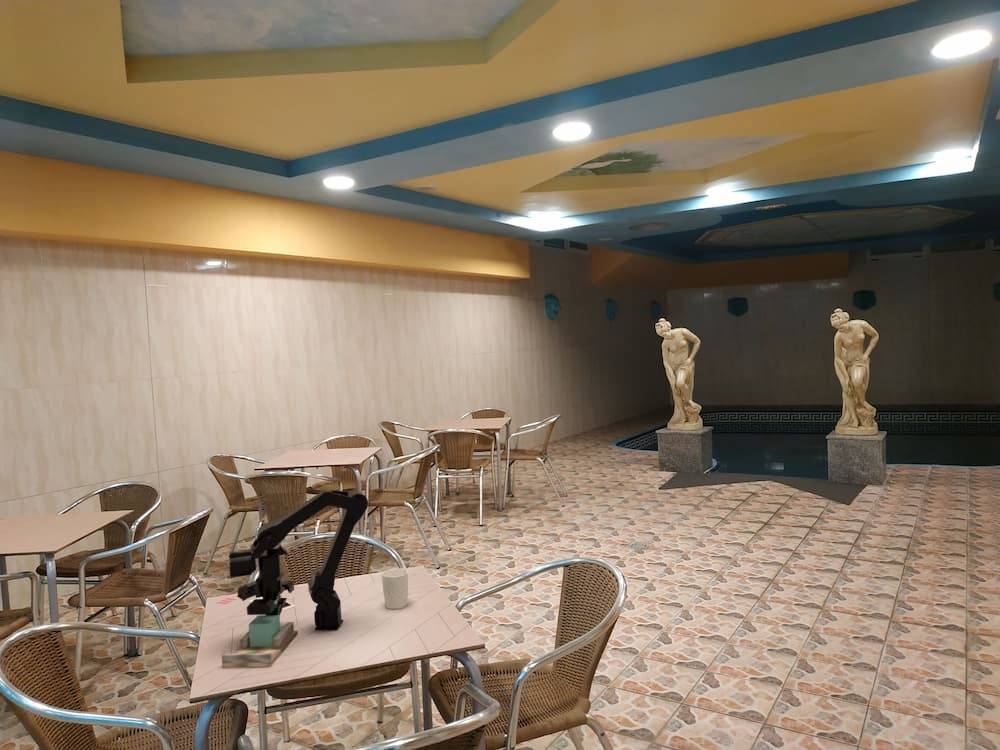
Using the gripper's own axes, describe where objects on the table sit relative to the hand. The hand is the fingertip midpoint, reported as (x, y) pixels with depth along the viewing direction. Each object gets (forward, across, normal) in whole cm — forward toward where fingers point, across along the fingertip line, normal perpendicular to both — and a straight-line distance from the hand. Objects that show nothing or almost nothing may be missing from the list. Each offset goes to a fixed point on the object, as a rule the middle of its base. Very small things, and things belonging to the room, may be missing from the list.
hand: (273, 627), depth 191 cm
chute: (+2, +8, 0) cm, 8 cm away
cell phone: (+3, -24, -10) cm, 27 cm away
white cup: (+3, -22, +30) cm, 37 cm away
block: (+1, +6, 0) cm, 6 cm away
